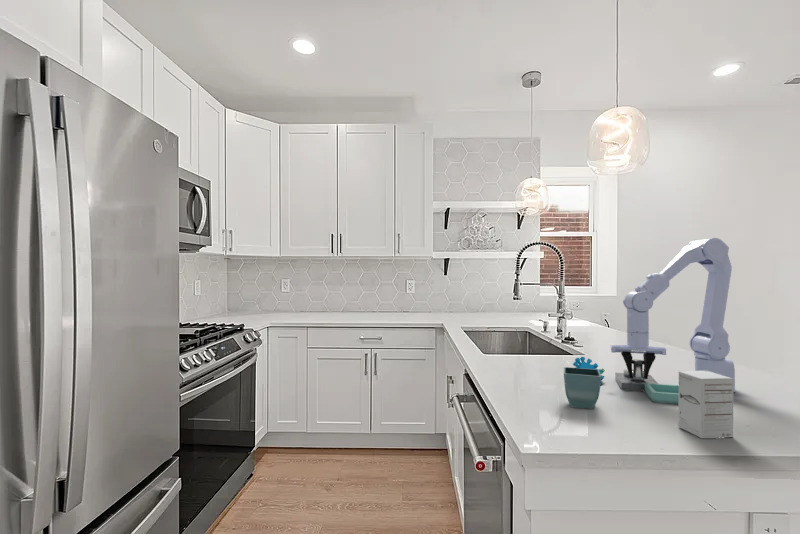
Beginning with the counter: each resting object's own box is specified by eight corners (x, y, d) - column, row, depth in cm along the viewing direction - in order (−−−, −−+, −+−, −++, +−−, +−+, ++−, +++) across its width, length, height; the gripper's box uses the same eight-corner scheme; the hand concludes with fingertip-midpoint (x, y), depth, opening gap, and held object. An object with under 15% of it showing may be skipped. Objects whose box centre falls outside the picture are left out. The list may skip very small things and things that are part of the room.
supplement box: (677, 427, 104) (676, 370, 104) (708, 426, 104) (708, 369, 104) (701, 439, 96) (701, 378, 96) (735, 438, 97) (734, 377, 97)
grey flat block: (650, 381, 147) (650, 369, 147) (659, 392, 133) (659, 379, 133) (615, 378, 150) (615, 367, 150) (621, 389, 136) (621, 376, 136)
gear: (583, 381, 139) (570, 354, 146) (572, 392, 143) (560, 364, 150) (613, 384, 142) (599, 357, 149) (602, 394, 146) (589, 367, 153)
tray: (700, 395, 130) (700, 386, 130) (713, 406, 119) (713, 396, 119) (644, 391, 134) (644, 382, 134) (652, 401, 124) (652, 392, 124)
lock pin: (643, 386, 140) (643, 359, 140) (646, 389, 136) (645, 362, 136) (630, 385, 141) (630, 359, 141) (632, 388, 137) (632, 361, 138)
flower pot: (599, 403, 123) (598, 368, 123) (601, 412, 115) (601, 376, 115) (563, 400, 126) (563, 366, 126) (563, 409, 117) (563, 373, 117)
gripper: (612, 332, 137) (613, 379, 137) (668, 334, 133) (668, 382, 133) (610, 329, 144) (610, 373, 144) (662, 331, 139) (663, 377, 139)
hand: (638, 377), depth 139 cm, fingers closed on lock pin, 3 cm apart
